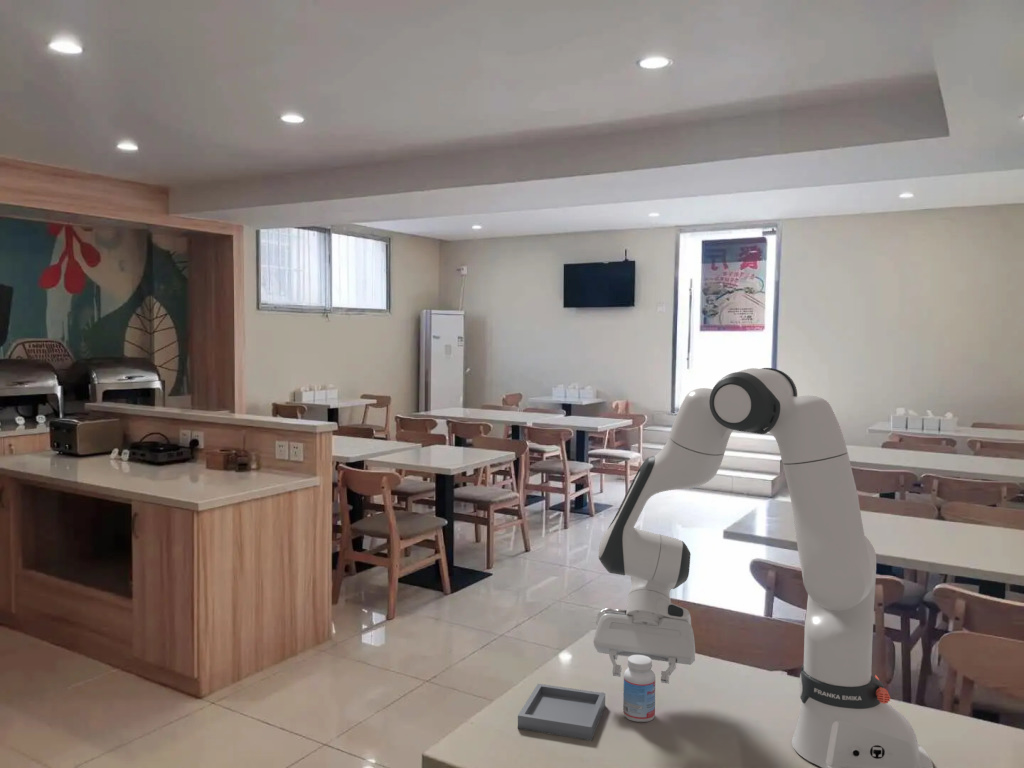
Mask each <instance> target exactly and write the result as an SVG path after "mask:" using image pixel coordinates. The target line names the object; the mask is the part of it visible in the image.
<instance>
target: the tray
mask: <svg viewBox="0 0 1024 768" xmlns="http://www.w3.org/2000/svg"><path fill="white" fill-rule="evenodd" d="M605 707H606V692H599V691H593V690H586V689H585V690H584V689H580V688H579V689H578V688H572V687H571V688H569V687H563V686H557V685H551V684H543V683H537V684H536V686H535V687H534V689H533V691H532V692H531V694H530V695H529V697H528V698H527V700H526V702H525V704H524V705H523V706H522V708H521V710H520V711H519V714H517V715H518V716H517V729H518V730H526V731H532V732H537V733H543V734H544V733H545V734H550V735H556V736H561V737H568V738H573V739H574V738H575V739H579V740H587V741H592V740H593V738H594V734H595V733H596V730H597V727H598V725H599V722H600V720H601V717H602V716H603V715H602V714H603V712H604V709H605Z"/></svg>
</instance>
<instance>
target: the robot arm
mask: <svg viewBox="0 0 1024 768" xmlns="http://www.w3.org/2000/svg"><path fill="white" fill-rule="evenodd" d="M796 386H797V385H796V384H795V382H794V380H793V379H792V378H791V376H790V375H788V374H787V373H785V372H783V371H782V370H779V369H778V368H777V369H776V368H773V367H772V368H771V367H763V368H756V367H755V368H753V367H752V368H747V369H742V370H739V371H737V372H736V371H735V372H731V373H729V374H727V375H725V376H724V377H721V379H719V380H718V381H717V382H716V383H715V385H714V387H713V388H707V387H704V388H696V389H693V390H691V391H690V392H688V393H687V394H686V396H685V397H684V399H683V401H682V403H681V405H680V407H679V409H678V411H677V413H676V416H675V418H674V421H673V423H672V425H671V430H670V432H669V436H668V438H667V441H666V443H665V445H664V446H663V448H662V449H661V450H659V451H658V452H657V453H656V454H655V455H652V456H648V457H646V459H645V460H644V461H643V462H642V464H641V465H640V467H639V468H638V471H637V472H636V474H635V476H634V478H633V480H632V481H631V483H630V485H629V488H628V490H627V492H626V494H625V495H624V498H623V500H622V501H621V504H620V505H619V507H618V508H617V509H618V510H617V512H616V514H615V516H614V517H613V519H612V521H611V522H610V525H608V528H607V529H606V531H605V533H604V534H603V536H602V538H601V539H600V544H599V548H598V559H599V561H600V563H601V565H602V566H603V568H605V571H607V572H608V573H609V574H613V575H621V576H629V577H630V581H631V588H630V590H629V591H628V595H627V605H626V609H615V608H611V607H607V608H604V609H602V610H600V611H599V612H598V613H597V615H596V621H595V624H596V629H595V633H594V636H593V647H594V649H595V650H596V652H597V653H599V654H605V655H606V654H607V655H609V659H610V663H611V664H612V676H613V677H619V678H621V676H622V669H623V668H622V665H621V664H617V662H616V661H617V660H618V657H619V656H621V657H627V658H628V657H629V656H632V655H644V656H648V657H649V658H651V660H652V661H660V662H664V663H665V662H667V663H668V667H667V669H665V671H664V670H661V674H660V675H661V676H660V683H662V684H666V685H667V684H669V683H670V676H671V675H672V673H674V671H675V670H676V669H677V664H681V665H686V666H687V665H690V666H691V665H693V664H694V663H695V661H696V646H695V645H696V644H695V643H696V642H695V635H694V629H693V627H692V617H691V613H690V611H689V610H688V608H685V607H682V606H680V605H678V604H675V603H673V602H672V601H671V595H670V594H671V590H675V589H677V588H679V586H681V585H682V584H684V583H685V582H686V581H687V580H688V578H689V575H690V565H691V555H692V554H691V552H690V549H689V548H688V545H686V543H685V542H684V541H683V540H681V539H678V538H675V537H671V536H669V535H667V536H666V535H664V534H658V533H654V532H649V531H646V530H642V529H638V528H635V525H636V524H637V521H638V520H639V518H640V516H641V514H642V512H643V509H644V507H645V506H646V504H647V502H648V501H649V499H650V498H652V497H654V495H656V494H659V493H663V492H667V491H674V490H684V489H685V490H686V489H692V488H697V487H700V486H702V485H704V484H706V483H708V482H709V481H711V480H712V479H713V478H714V477H715V476H716V475H717V473H718V472H719V469H720V467H721V464H722V462H723V459H724V456H725V453H726V449H727V446H728V444H729V443H728V442H729V440H730V436H731V434H732V433H733V431H736V432H743V433H752V434H756V435H758V434H759V435H765V434H767V433H770V434H771V435H772V436H773V437H774V439H775V440H776V443H777V446H778V449H779V455H780V458H781V463H782V468H783V472H784V475H785V481H786V484H787V489H788V494H789V498H790V501H791V502H790V503H791V507H792V513H793V523H794V530H795V531H794V532H795V539H796V545H797V552H798V557H799V563H800V564H799V565H800V569H801V570H800V571H801V575H802V581H803V582H802V583H803V587H804V588H805V591H806V593H807V603H806V613H805V620H804V634H803V635H804V637H803V638H804V641H803V643H804V644H803V645H804V646H803V664H802V666H801V669H800V673H799V697H800V701H801V702H800V707H799V714H798V720H797V723H796V727H795V730H794V733H793V736H792V737H791V745H792V747H793V749H794V751H795V752H796V753H797V754H798V755H800V756H801V757H802V758H804V759H805V760H806V761H808V762H809V763H812V764H813V765H816V766H817V767H820V768H934V765H933V762H932V759H931V757H930V756H929V754H928V752H927V750H925V748H924V747H923V746H921V745H920V744H919V743H918V742H919V741H918V739H917V735H916V732H915V730H914V728H913V726H912V724H911V723H910V722H909V720H908V719H907V717H905V715H903V714H902V713H901V712H900V711H898V709H896V708H895V707H894V706H892V705H891V704H890V703H889V702H890V701H891V696H890V694H889V691H888V690H887V688H884V684H883V682H882V681H880V677H878V676H877V674H875V675H873V674H872V666H873V665H872V660H873V659H872V658H873V657H872V656H873V635H874V634H873V633H874V615H875V597H876V583H877V582H876V578H877V575H876V574H877V573H876V572H877V553H876V550H875V547H874V546H873V544H872V543H871V541H870V540H869V538H867V536H866V535H865V532H864V530H865V529H864V525H863V519H862V514H861V509H860V508H861V507H860V501H859V500H860V499H859V494H858V490H857V486H856V481H855V478H854V474H853V469H852V465H851V461H850V456H849V452H848V448H847V445H846V441H845V437H844V434H843V432H842V429H841V426H840V423H839V421H838V419H837V417H836V414H835V412H834V410H833V408H832V406H831V404H830V402H828V401H827V400H825V399H824V398H823V397H819V396H815V395H800V396H798V390H797V387H796Z"/></svg>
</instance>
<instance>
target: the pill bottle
mask: <svg viewBox="0 0 1024 768" xmlns="http://www.w3.org/2000/svg"><path fill="white" fill-rule="evenodd" d="M652 663H653V660H651V658H649V657H648V656H644V655H632V656H629V657H628V656H627V668H626V669H625V671H624V672H623V697H622V698H623V701H622V703H623V706H622V707H623V712H622V713H623V715H624V717H625V718H626V719H628V720H630V721H631V722H635V723H636V722H637V723H648V722H650V721H652V720H653V719H654V718H655V717H656V716H655V715H656V674H655V672H654V671H653V670H652V669H653V668H652V667H653V664H652Z"/></svg>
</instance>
